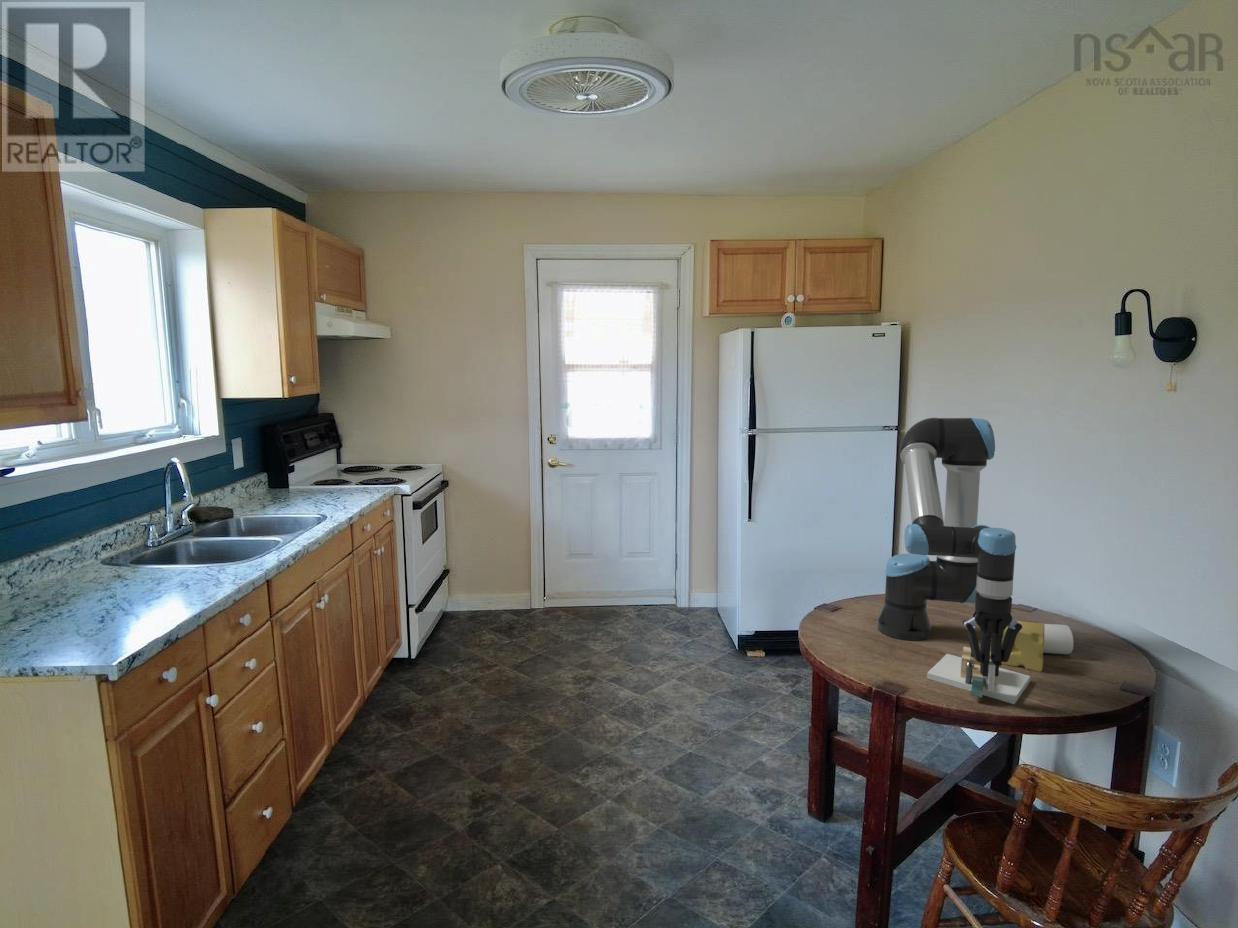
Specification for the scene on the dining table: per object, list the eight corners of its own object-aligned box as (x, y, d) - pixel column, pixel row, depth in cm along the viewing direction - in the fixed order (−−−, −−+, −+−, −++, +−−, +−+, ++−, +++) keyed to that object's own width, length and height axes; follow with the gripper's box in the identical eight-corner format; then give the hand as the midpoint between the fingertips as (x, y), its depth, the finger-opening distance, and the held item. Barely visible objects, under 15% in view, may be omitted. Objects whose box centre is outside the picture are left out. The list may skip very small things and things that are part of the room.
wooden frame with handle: (962, 664, 177) (963, 646, 176) (996, 670, 173) (998, 652, 172) (957, 692, 162) (959, 673, 161) (995, 700, 158) (997, 680, 157)
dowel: (964, 683, 167) (965, 662, 166) (966, 681, 168) (967, 660, 167) (970, 684, 166) (972, 663, 165) (972, 682, 167) (973, 662, 166)
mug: (1072, 659, 183) (1075, 631, 182) (1032, 656, 185) (1034, 628, 184) (1053, 641, 195) (1056, 615, 194) (1016, 639, 197) (1018, 613, 196)
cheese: (1042, 672, 175) (1045, 636, 174) (995, 663, 181) (998, 628, 180) (1042, 658, 184) (1045, 623, 183) (998, 649, 190) (1000, 616, 188)
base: (926, 678, 173) (928, 650, 172) (946, 658, 184) (948, 632, 183) (1014, 704, 159) (1016, 674, 158) (1029, 681, 171) (1032, 653, 169)
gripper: (1014, 589, 161) (1008, 681, 164) (958, 588, 162) (954, 680, 165) (1030, 599, 154) (1024, 696, 157) (972, 599, 155) (967, 695, 158)
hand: (988, 688), depth 161 cm, fingers closed
